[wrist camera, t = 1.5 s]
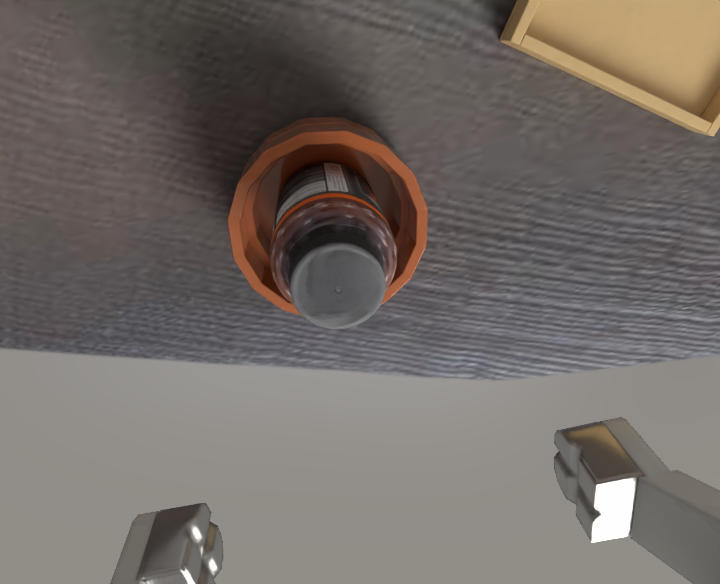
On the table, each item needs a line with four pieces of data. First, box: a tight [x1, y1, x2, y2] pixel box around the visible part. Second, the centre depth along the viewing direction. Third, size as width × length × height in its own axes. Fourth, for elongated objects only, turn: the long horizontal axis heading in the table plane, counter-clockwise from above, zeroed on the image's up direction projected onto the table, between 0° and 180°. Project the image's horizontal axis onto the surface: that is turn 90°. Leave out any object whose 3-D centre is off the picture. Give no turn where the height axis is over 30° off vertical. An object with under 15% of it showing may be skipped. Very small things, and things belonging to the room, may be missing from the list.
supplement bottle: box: [270, 161, 397, 329], centre depth 25 cm, size 6×6×11 cm
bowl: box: [228, 116, 428, 315], centre depth 28 cm, size 10×10×5 cm
